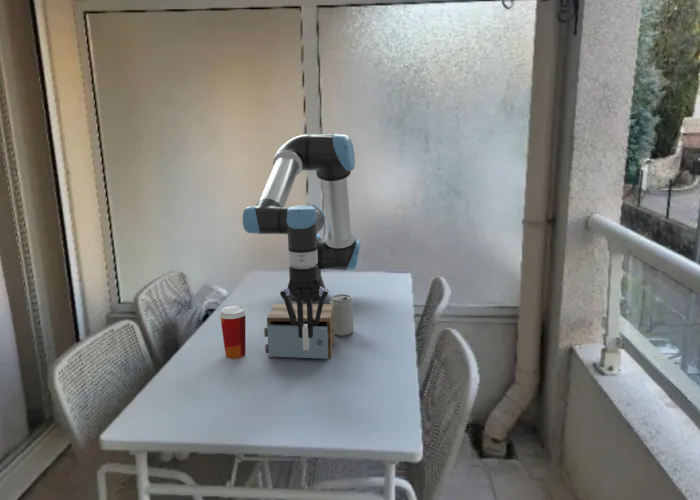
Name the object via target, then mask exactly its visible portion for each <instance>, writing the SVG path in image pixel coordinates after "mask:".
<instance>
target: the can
mask: <svg viewBox="0 0 700 500" xmlns="http://www.w3.org/2000/svg"><path fill="white" fill-rule="evenodd" d="M329 304H333V307H334V336H340V337H341V336H342V337H344V336H349V335H351V334H352V333H353V332H354V331H355V330H354V329H355V327H354V326H355V325H354V324H355V323H354V315H355V314H354V300H353V299H352V296H351V295H350V294H346V293H340V294H339V293H338V294H334V295H332V296H331V300H329Z"/></svg>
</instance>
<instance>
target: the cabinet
mask: <svg viewBox="0 0 700 500" xmlns="http://www.w3.org/2000/svg"><path fill="white" fill-rule="evenodd" d="M318 304H319V303H312V306H313V319H315V317H316V313H317V308H318ZM292 305H293V308H294V311H295V315H296V318H297V319H298V314H297V303H292ZM303 320H304V322H303V324H308V323H307V303H303ZM268 325H292V324H291V321H290V318H289V314H288V311H287V308H286V304H285V303H274V304H273V305H272V307H271V309H270V310H269V314H268V315H267V317H266V328H267V327H268ZM295 326H296V325H295ZM314 326H325V327H327V336H328V358H332V355H333V349H334V344H335V334H334V307H333V304H330V303H323V307H322V312H321V316H320V320H319V324H318V325H314ZM268 357H269V358H274V357H273V356H269V355H268ZM328 358H327V359H328Z"/></svg>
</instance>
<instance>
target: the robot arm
mask: <svg viewBox="0 0 700 500" xmlns="http://www.w3.org/2000/svg"><path fill="white" fill-rule="evenodd" d="M355 158H356V157H355V149H354V144H353V142H352V139H351V138H350V136H349V135H346V134H338V133H334V134H301V135H298V136H295V137H293V138H291V139H289V140H288V141H286V142H285V143H284V144H282V145H281V146H280V147H279V149H278V150H277V151H276V153H275V155H274V157H273V160H272V165H273V168H272V169H271V172H270V174H269V176H268V179H267V181H266V183H265V186H264V189H263V190H262V193H261V194H260V197H259V200H258V202H257V204H256V206H255V205H252V206H247V207H245V208H244V210H243V211H242V226H243V229H244V231H245V232H246V233H247V234H258V235H287V245H288V248H287V249H288V265H289V267H288V270H289V271H288V272H289V274H288V276H289V281H288V283H287V287H285V288H282V289H281V290H280V293H279V295H280V296H281V298H282V299H283V301H284V304H286V308H287V311H288V314H289V318H290V321H291V324H292V325H296V326H298V332H299V338H303V350H309V347H310V339H309V338H312V337H313V326H314V325H318V324H319V320H320V316H321V312H322V307H323V304H325V303H324V302H325V299H326V298H327V296H329V295H328V294H329V289H328V288H326V286H325V285H326V284H325V282H324V280H323V276H322V270H327V271H329V270H331V271H332V270H333V271H354V270H356V269H357V267H358V265H359V257H360V249H361V239H359V238H356V234H355V232H354V231H352V227H351V226H352V225H351V215H350V201H349V190H348V189H349V187H348V178H349V177H350V175H351V173H352V171H353V170H354V169H355V167H356V159H355ZM302 171H315V173H316V178H317V179H319V180H320V181H321V186H322V195H323V196H322V197H323V203H324V210H323V209H322V208H321V207H320V206H318V205H317V204H308V205H307V204H299V205H294V206H285V205H286V203H287V200H288V198H289V196H290V193H291V190H292V188H293V185H294V182H295V180H296V177H297V176H299V175H300V173H301V172H302ZM325 222H326V231H327V232H326V234H325V235H324V237H323V238H322V237H321V234H319V232H320V231H322V229H323V228H324V225H325ZM317 300H318V303H317V304H318V308H317V313H316V317H315V319H313V306H312V304H313V301H317ZM293 301H296V304H297V314H298V319H297V318H296V315H295V311H294V308H293V305H292V304H293ZM304 302H306V303H305V304H307V323H308V324H303V322H304V320H303V304H304Z"/></svg>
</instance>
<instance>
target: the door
mask: <svg viewBox="0 0 700 500" xmlns="http://www.w3.org/2000/svg"><path fill="white" fill-rule="evenodd" d="M264 337H265V338H267V343H265V344H264V347H265V348H264V349H265V354H268V357H269V356H273V357H272V358H300V359H301V358H302V359H303V358H305V359H306V358H307V359H326V360H327V359H328V336H327V327H325V326H313V337H312V338H309V339H310V347H309V350H303V338H299V332H298V326H295V325H268V327H267V326H266V327H264Z"/></svg>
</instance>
